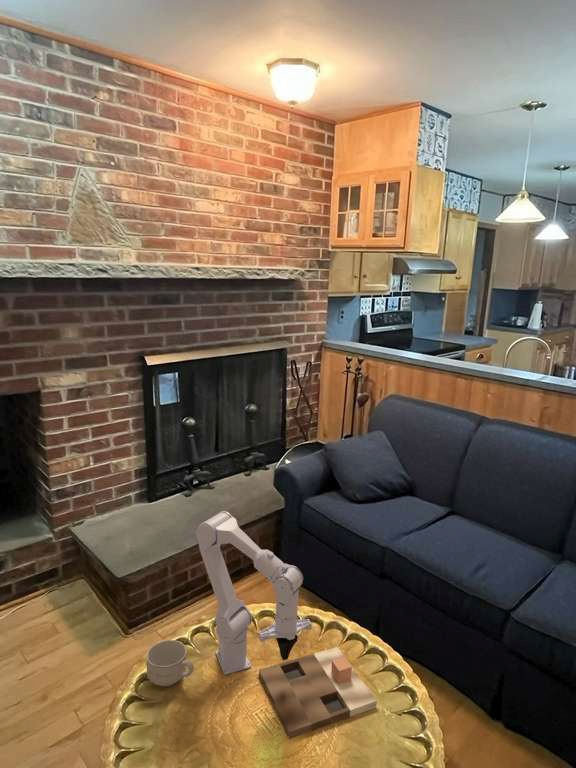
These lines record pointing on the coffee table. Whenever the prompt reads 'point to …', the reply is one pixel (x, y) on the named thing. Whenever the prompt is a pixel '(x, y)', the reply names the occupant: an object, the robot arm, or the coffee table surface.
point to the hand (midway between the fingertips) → (284, 657)
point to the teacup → (167, 662)
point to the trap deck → (313, 692)
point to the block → (341, 670)
